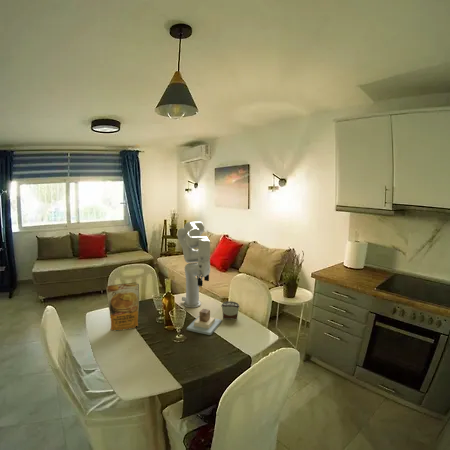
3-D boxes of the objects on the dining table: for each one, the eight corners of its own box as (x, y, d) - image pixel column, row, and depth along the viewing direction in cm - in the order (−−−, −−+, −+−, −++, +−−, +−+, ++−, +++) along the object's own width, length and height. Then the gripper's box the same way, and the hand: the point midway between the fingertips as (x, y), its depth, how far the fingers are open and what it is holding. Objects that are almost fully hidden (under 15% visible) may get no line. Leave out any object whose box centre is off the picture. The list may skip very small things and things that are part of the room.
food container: (239, 315, 198) (240, 301, 196) (239, 319, 192) (239, 305, 190) (221, 314, 199) (222, 300, 198) (220, 318, 193) (221, 304, 192)
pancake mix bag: (108, 327, 179) (106, 284, 175) (140, 322, 186) (138, 281, 181) (107, 332, 173) (105, 288, 169) (140, 327, 179) (139, 284, 175)
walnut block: (199, 320, 181) (199, 311, 180) (202, 317, 185) (202, 308, 185) (206, 322, 179) (206, 313, 178) (209, 318, 184) (210, 309, 183)
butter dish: (186, 330, 177) (186, 323, 177) (199, 317, 194) (199, 311, 193) (210, 335, 172) (210, 328, 171) (221, 321, 188) (221, 316, 188)
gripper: (203, 262, 174) (202, 289, 178) (214, 255, 190) (213, 279, 194) (192, 261, 177) (191, 287, 180) (204, 253, 193) (203, 277, 196)
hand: (203, 283), depth 187 cm, fingers open, 9 cm apart
